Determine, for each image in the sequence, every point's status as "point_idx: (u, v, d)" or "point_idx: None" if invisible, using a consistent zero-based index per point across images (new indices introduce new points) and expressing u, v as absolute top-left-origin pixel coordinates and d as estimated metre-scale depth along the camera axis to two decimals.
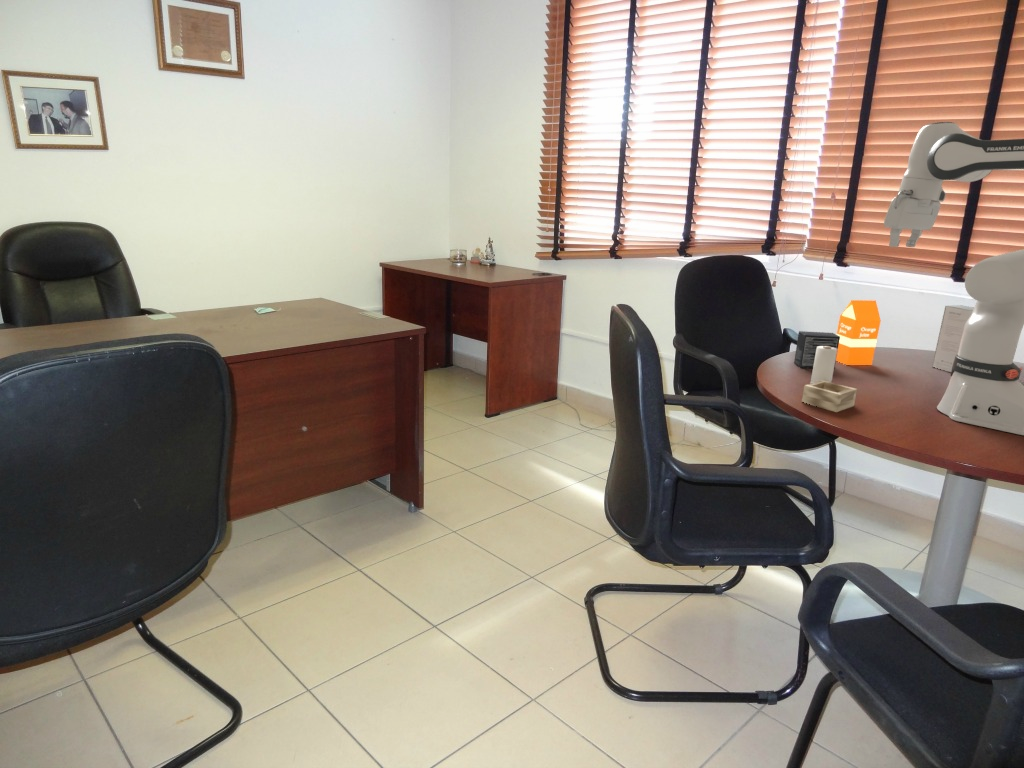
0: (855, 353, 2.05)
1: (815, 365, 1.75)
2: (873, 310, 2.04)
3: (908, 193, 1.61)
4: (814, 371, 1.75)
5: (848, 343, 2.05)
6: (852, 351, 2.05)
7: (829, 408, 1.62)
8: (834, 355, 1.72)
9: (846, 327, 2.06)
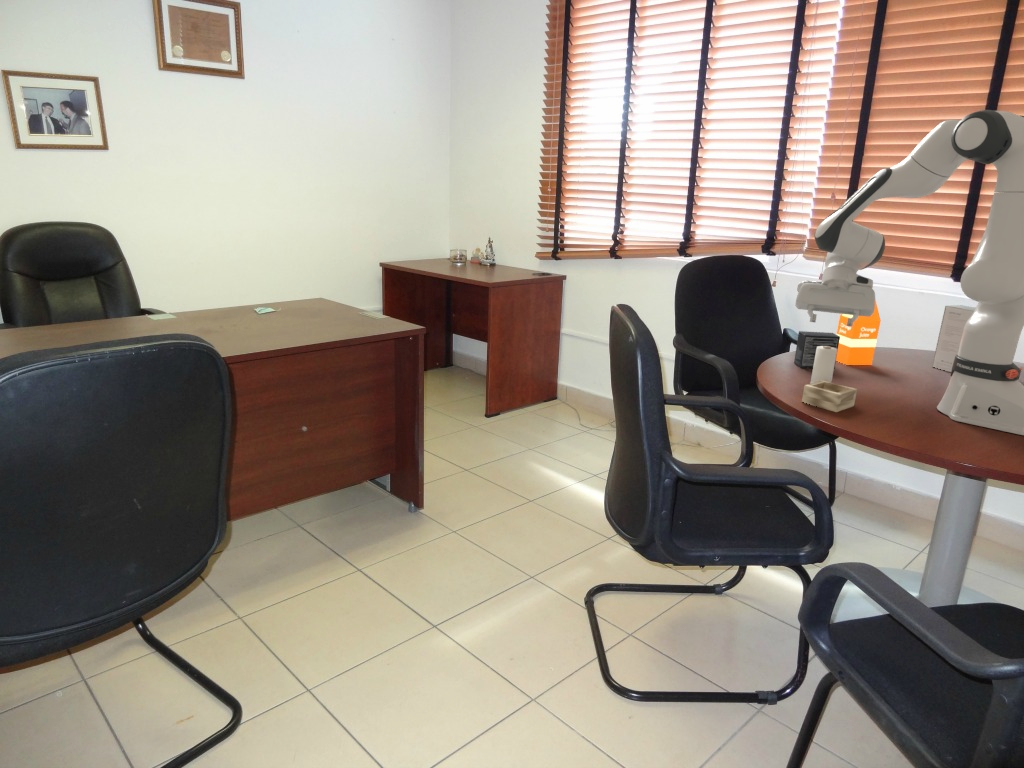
0: (855, 353, 2.05)
1: (815, 365, 1.75)
2: None
3: (813, 282, 1.91)
4: (814, 371, 1.75)
5: (848, 343, 2.05)
6: (852, 351, 2.05)
7: (829, 408, 1.62)
8: (834, 355, 1.72)
9: (846, 327, 2.06)
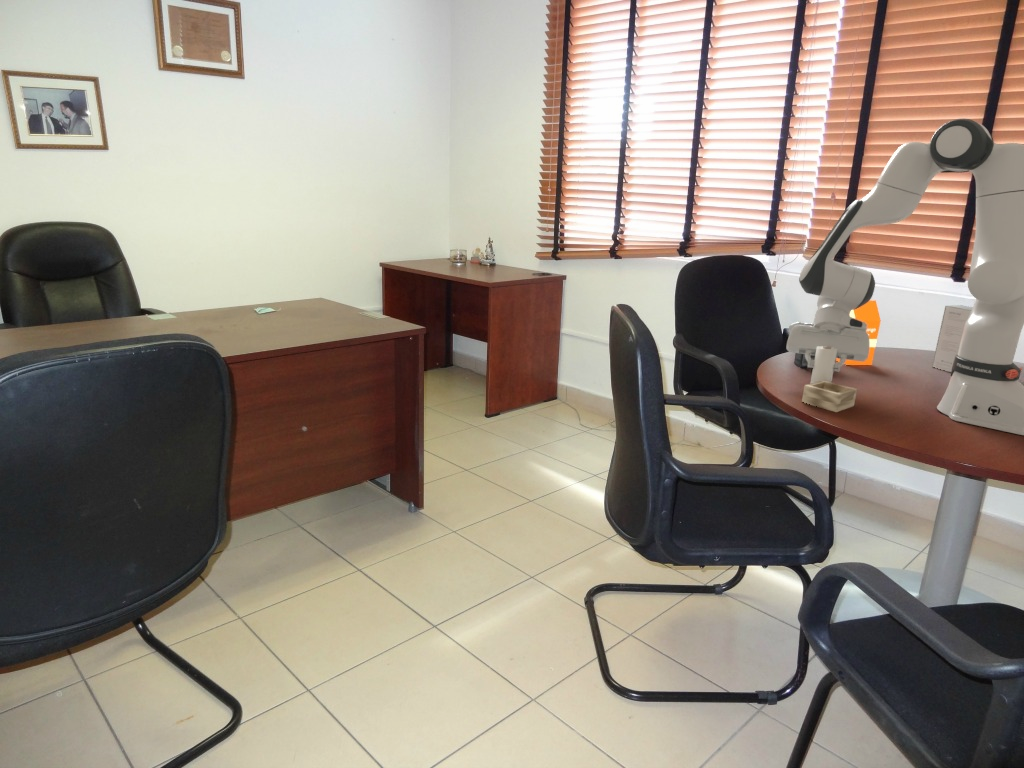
0: None
1: (815, 365, 1.75)
2: (873, 310, 2.04)
3: (805, 324, 1.83)
4: (814, 371, 1.75)
5: None
6: None
7: (829, 408, 1.62)
8: (834, 355, 1.72)
9: None
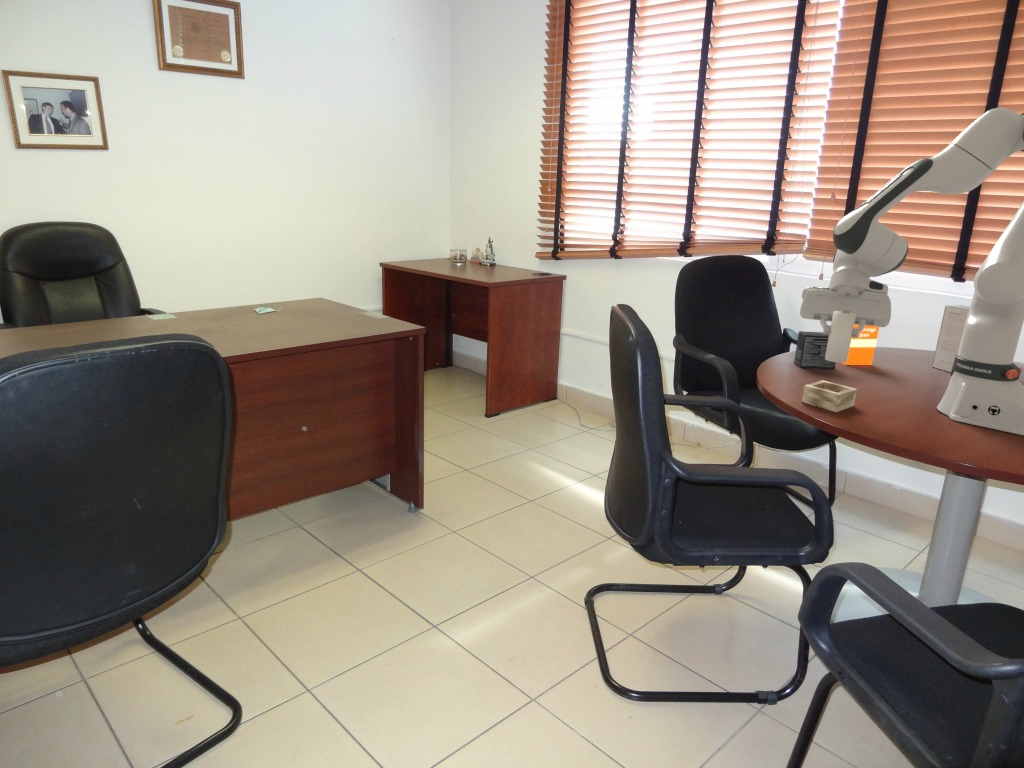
0: (855, 353, 2.05)
1: (832, 331, 1.61)
2: None
3: (820, 288, 1.69)
4: (830, 338, 1.61)
5: None
6: (852, 351, 2.05)
7: (829, 408, 1.62)
8: (853, 320, 1.58)
9: None
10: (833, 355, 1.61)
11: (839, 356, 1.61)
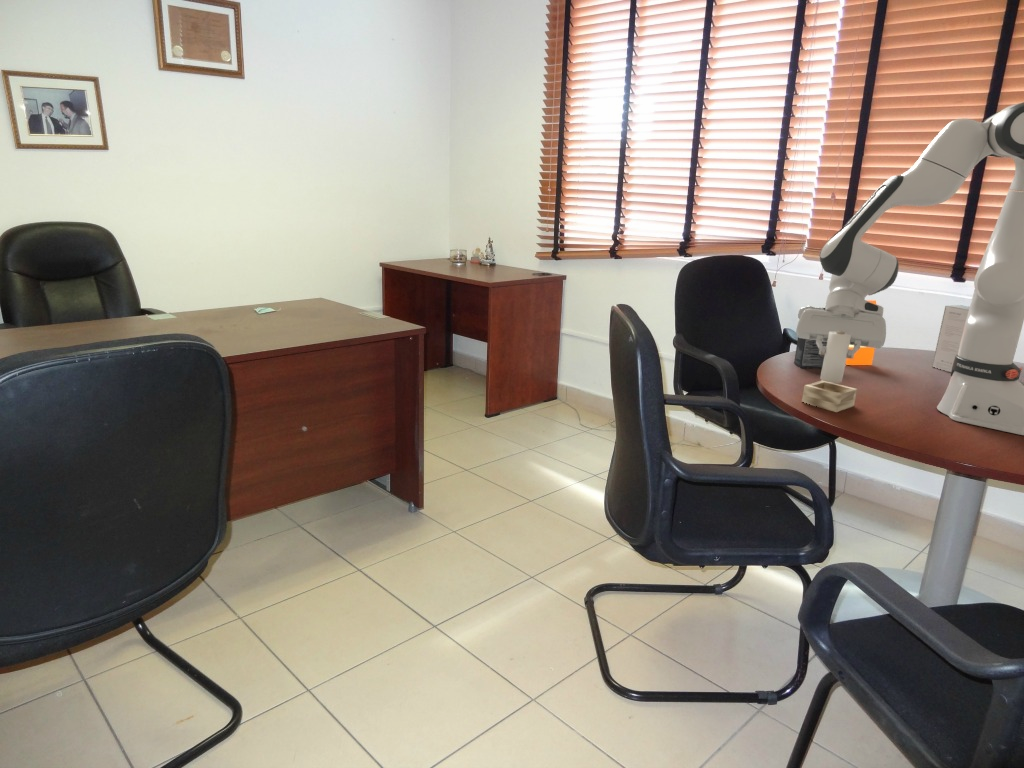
0: (855, 353, 2.05)
1: (827, 352, 1.63)
2: None
3: (816, 308, 1.70)
4: (826, 358, 1.63)
5: None
6: None
7: (829, 408, 1.62)
8: (848, 341, 1.60)
9: None
10: (828, 375, 1.63)
11: (834, 376, 1.62)
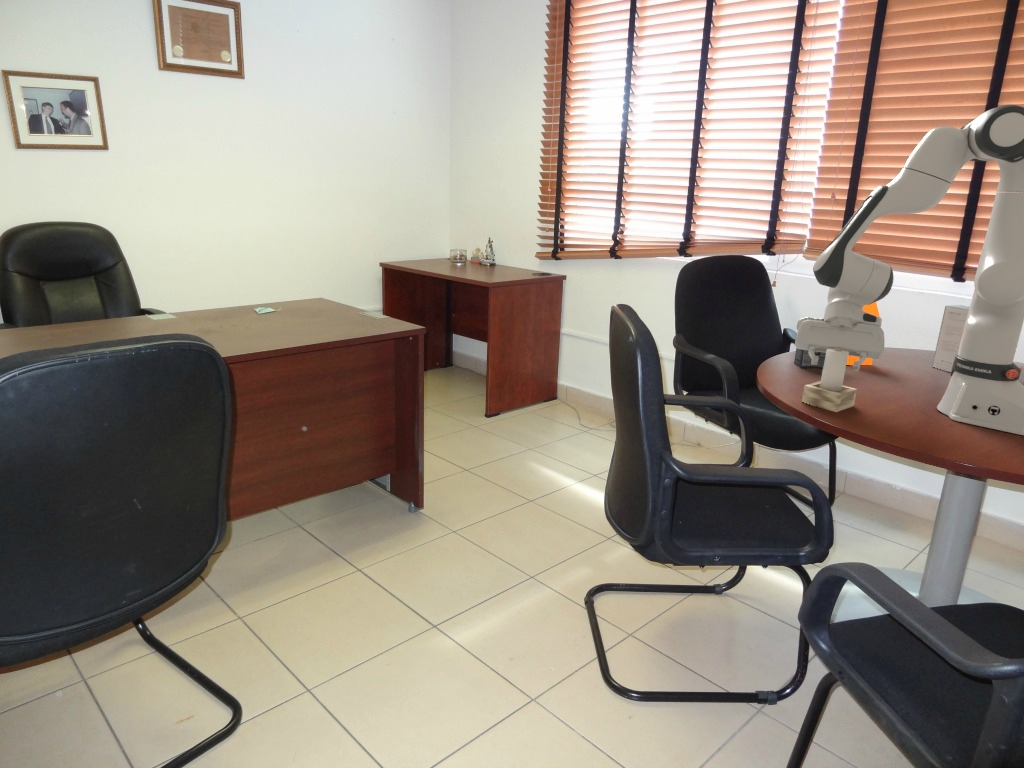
0: None
1: (825, 368, 1.64)
2: (873, 310, 2.04)
3: (815, 319, 1.71)
4: (824, 375, 1.64)
5: None
6: None
7: (829, 408, 1.62)
8: (845, 358, 1.61)
9: None
10: None
11: None
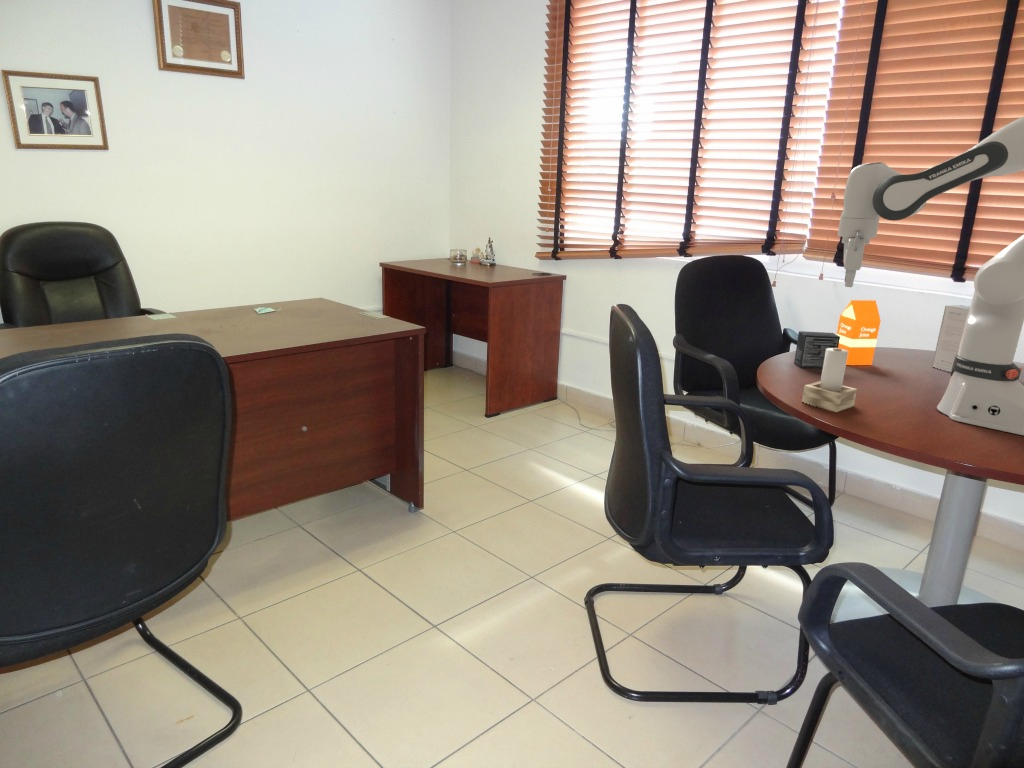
0: (855, 353, 2.05)
1: (824, 368, 1.64)
2: (873, 310, 2.04)
3: None
4: (823, 375, 1.64)
5: (848, 343, 2.05)
6: (852, 351, 2.05)
7: (829, 408, 1.62)
8: (845, 358, 1.61)
9: (846, 327, 2.06)
10: None
11: None
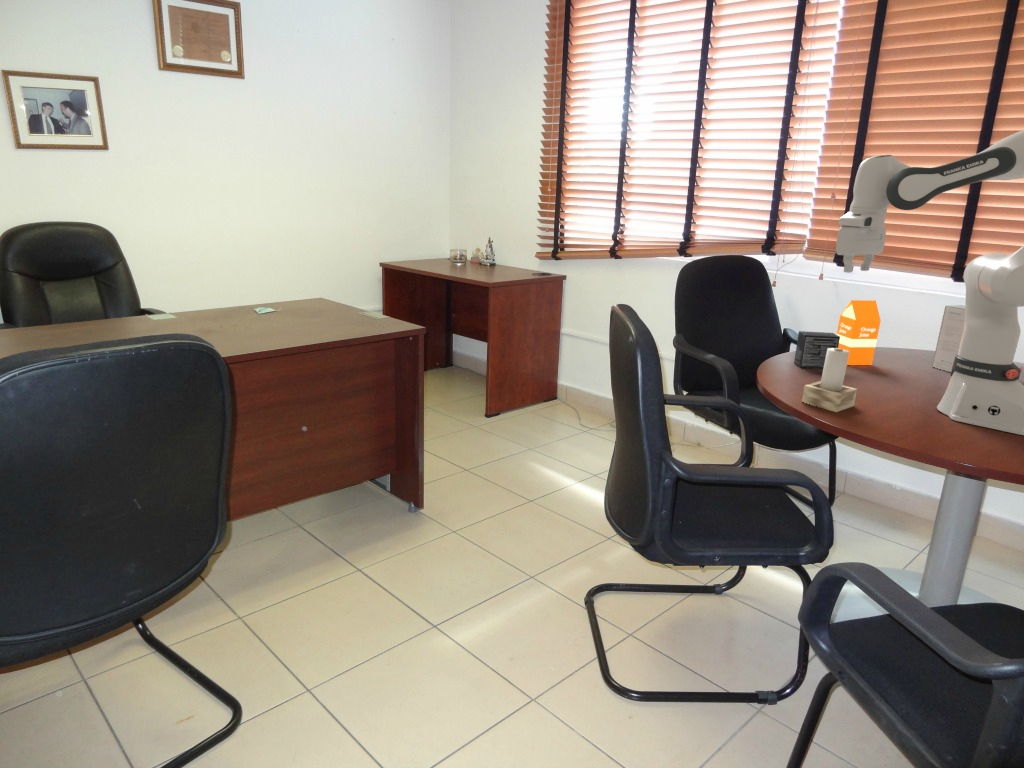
0: (855, 353, 2.05)
1: (825, 368, 1.64)
2: (873, 310, 2.04)
3: None
4: (824, 375, 1.64)
5: (848, 343, 2.05)
6: (852, 351, 2.05)
7: (829, 408, 1.62)
8: (846, 358, 1.61)
9: (846, 327, 2.06)
10: None
11: None
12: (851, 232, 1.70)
